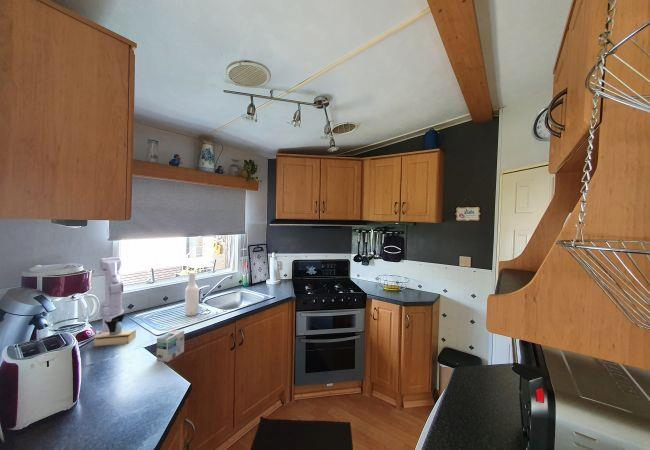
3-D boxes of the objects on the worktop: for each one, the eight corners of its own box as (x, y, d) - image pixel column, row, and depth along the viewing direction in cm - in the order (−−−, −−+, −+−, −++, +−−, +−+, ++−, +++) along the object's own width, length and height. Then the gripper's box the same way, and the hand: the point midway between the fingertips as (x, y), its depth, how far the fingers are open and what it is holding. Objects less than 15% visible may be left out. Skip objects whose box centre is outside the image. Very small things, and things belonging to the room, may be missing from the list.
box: (102, 339, 141) (102, 333, 141) (135, 336, 145) (135, 330, 144) (93, 346, 133) (93, 339, 133) (128, 343, 137) (128, 336, 137)
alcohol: (193, 311, 187) (193, 270, 187) (201, 312, 184) (201, 271, 183) (182, 314, 179) (182, 272, 179) (190, 316, 176) (190, 274, 175)
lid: (102, 333, 141) (102, 332, 141) (135, 330, 144) (135, 329, 145) (93, 338, 133) (93, 337, 133) (128, 335, 137) (128, 334, 137)
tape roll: (117, 330, 142) (117, 321, 142) (123, 331, 141) (123, 322, 140) (106, 333, 137) (106, 324, 137) (113, 335, 136) (113, 325, 136)
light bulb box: (167, 362, 119) (167, 339, 118) (155, 360, 120) (155, 338, 120) (184, 351, 129) (184, 330, 129) (173, 349, 130) (173, 329, 130)
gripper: (113, 301, 144) (113, 325, 145) (98, 310, 131) (98, 336, 131) (128, 300, 146) (128, 324, 147) (115, 309, 133) (115, 334, 133)
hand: (115, 329), depth 139 cm, fingers closed on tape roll, 5 cm apart
